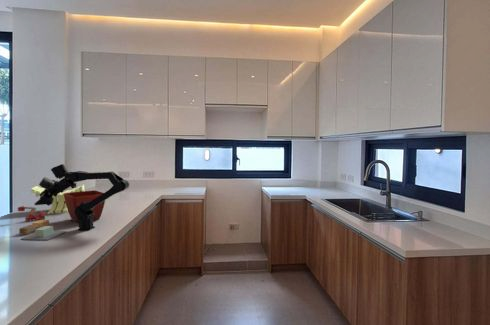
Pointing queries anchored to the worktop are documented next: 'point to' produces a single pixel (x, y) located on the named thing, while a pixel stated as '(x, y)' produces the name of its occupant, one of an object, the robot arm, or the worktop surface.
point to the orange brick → (41, 223)
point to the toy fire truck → (30, 215)
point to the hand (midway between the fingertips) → (37, 199)
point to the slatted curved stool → (60, 204)
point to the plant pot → (80, 197)
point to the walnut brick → (28, 229)
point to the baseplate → (32, 237)
